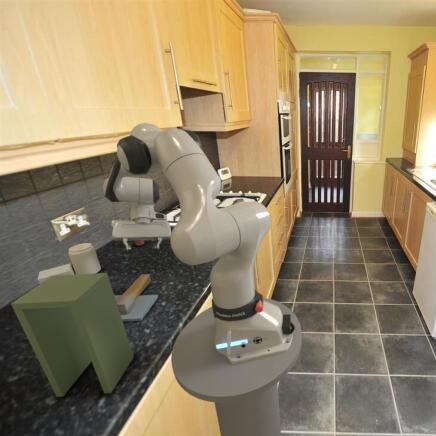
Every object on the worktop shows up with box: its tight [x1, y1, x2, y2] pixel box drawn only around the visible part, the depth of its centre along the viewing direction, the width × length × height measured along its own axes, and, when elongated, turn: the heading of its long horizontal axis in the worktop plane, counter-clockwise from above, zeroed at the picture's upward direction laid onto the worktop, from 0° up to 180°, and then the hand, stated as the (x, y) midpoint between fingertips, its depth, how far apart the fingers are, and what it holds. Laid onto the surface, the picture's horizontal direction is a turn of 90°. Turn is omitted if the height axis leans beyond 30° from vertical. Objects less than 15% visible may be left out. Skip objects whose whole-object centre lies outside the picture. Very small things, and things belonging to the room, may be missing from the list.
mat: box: [121, 294, 159, 323], centre depth 89 cm, size 16×12×1 cm
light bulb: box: [133, 240, 145, 246], centre depth 132 cm, size 7×7×12 cm
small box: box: [37, 263, 76, 285], centre depth 90 cm, size 8×6×13 cm
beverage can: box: [68, 242, 102, 274], centre depth 109 cm, size 8×8×12 cm
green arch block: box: [10, 272, 135, 398], centre depth 61 cm, size 12×10×26 cm
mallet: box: [114, 273, 152, 315], centre depth 93 cm, size 6×19×4 cm, turn 4°
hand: (143, 249), depth 105 cm, fingers open, 8 cm apart
